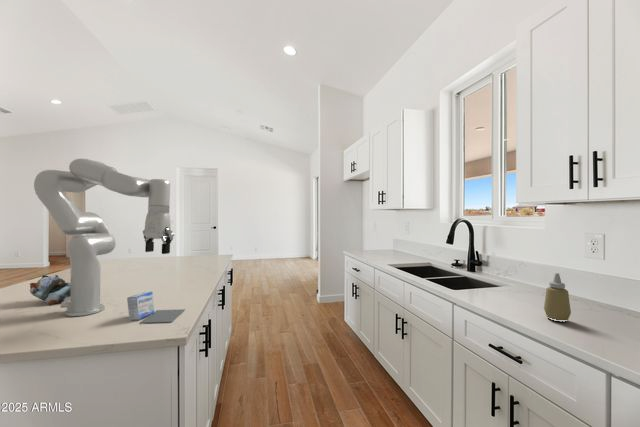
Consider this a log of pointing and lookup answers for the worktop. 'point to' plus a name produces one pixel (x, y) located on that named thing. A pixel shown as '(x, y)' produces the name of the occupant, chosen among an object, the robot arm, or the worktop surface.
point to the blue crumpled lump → (51, 289)
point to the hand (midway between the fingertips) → (157, 252)
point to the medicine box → (140, 305)
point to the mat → (163, 316)
